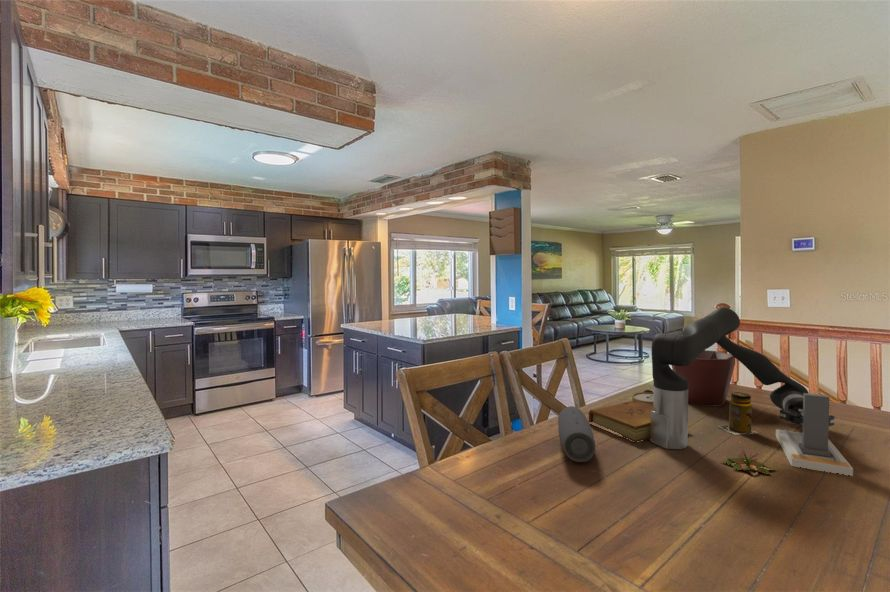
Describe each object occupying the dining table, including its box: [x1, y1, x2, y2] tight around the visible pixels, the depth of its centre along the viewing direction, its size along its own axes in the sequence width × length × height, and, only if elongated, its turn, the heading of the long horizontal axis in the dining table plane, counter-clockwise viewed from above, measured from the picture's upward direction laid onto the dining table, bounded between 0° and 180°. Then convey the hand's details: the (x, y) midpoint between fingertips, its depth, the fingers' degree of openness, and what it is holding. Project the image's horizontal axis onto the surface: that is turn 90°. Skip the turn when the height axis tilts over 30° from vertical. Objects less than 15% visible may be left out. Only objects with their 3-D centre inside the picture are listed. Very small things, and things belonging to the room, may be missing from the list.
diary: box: [588, 400, 653, 443], centre depth 142 cm, size 23×19×6 cm
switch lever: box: [799, 392, 831, 457], centre depth 115 cm, size 4×6×16 cm, turn 60°
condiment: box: [716, 391, 758, 436], centre depth 137 cm, size 7×8×12 cm
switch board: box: [775, 428, 854, 477], centre depth 119 cm, size 24×12×3 cm, turn 150°
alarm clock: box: [631, 389, 654, 405], centre depth 166 cm, size 11×5×15 cm
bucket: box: [671, 349, 736, 406], centre depth 170 cm, size 24×22×25 cm
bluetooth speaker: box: [557, 405, 596, 463], centre depth 124 cm, size 23×9×10 cm, turn 168°
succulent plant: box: [720, 450, 775, 476], centre depth 112 cm, size 12×12×5 cm
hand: (814, 426), depth 116 cm, fingers closed
